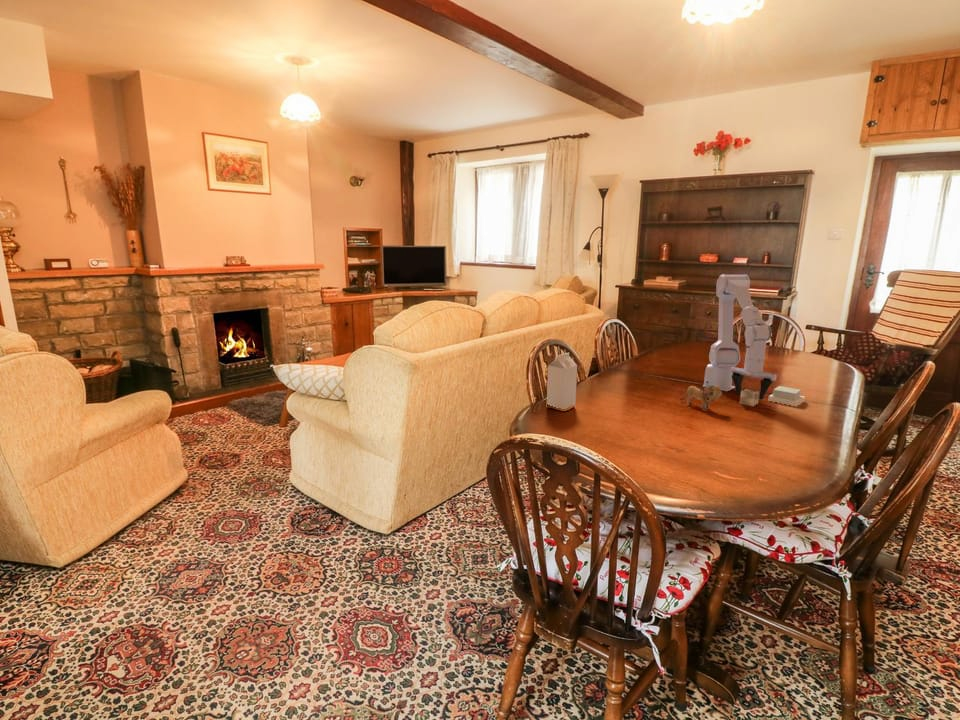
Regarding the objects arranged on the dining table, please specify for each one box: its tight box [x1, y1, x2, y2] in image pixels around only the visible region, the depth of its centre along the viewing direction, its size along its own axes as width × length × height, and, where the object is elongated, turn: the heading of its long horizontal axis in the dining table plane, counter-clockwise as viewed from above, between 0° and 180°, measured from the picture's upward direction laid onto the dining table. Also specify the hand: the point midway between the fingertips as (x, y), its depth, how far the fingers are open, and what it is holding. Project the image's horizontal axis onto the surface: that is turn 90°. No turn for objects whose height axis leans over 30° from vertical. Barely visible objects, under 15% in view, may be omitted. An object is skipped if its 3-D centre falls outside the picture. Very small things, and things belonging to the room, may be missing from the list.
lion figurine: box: [679, 385, 723, 412], centre depth 170 cm, size 15×5×9 cm, turn 34°
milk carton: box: [546, 352, 578, 409], centre depth 167 cm, size 7×7×19 cm
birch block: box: [739, 388, 760, 407], centre depth 174 cm, size 4×4×4 cm
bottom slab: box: [767, 393, 806, 408], centre depth 178 cm, size 9×9×2 cm
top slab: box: [772, 385, 802, 400], centre depth 177 cm, size 7×7×2 cm
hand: (749, 396), depth 174 cm, fingers open, 7 cm apart
